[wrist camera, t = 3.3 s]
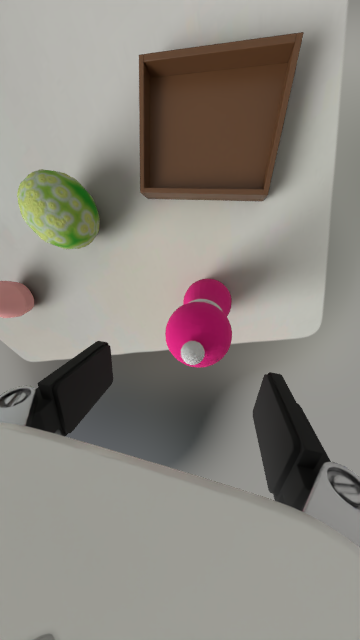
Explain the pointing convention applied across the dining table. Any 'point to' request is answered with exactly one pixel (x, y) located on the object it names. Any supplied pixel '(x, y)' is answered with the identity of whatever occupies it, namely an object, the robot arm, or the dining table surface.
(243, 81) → the tray
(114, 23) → the dining table surface
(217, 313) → the pepper mill
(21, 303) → the pink bulb vase
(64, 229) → the decorative ball
